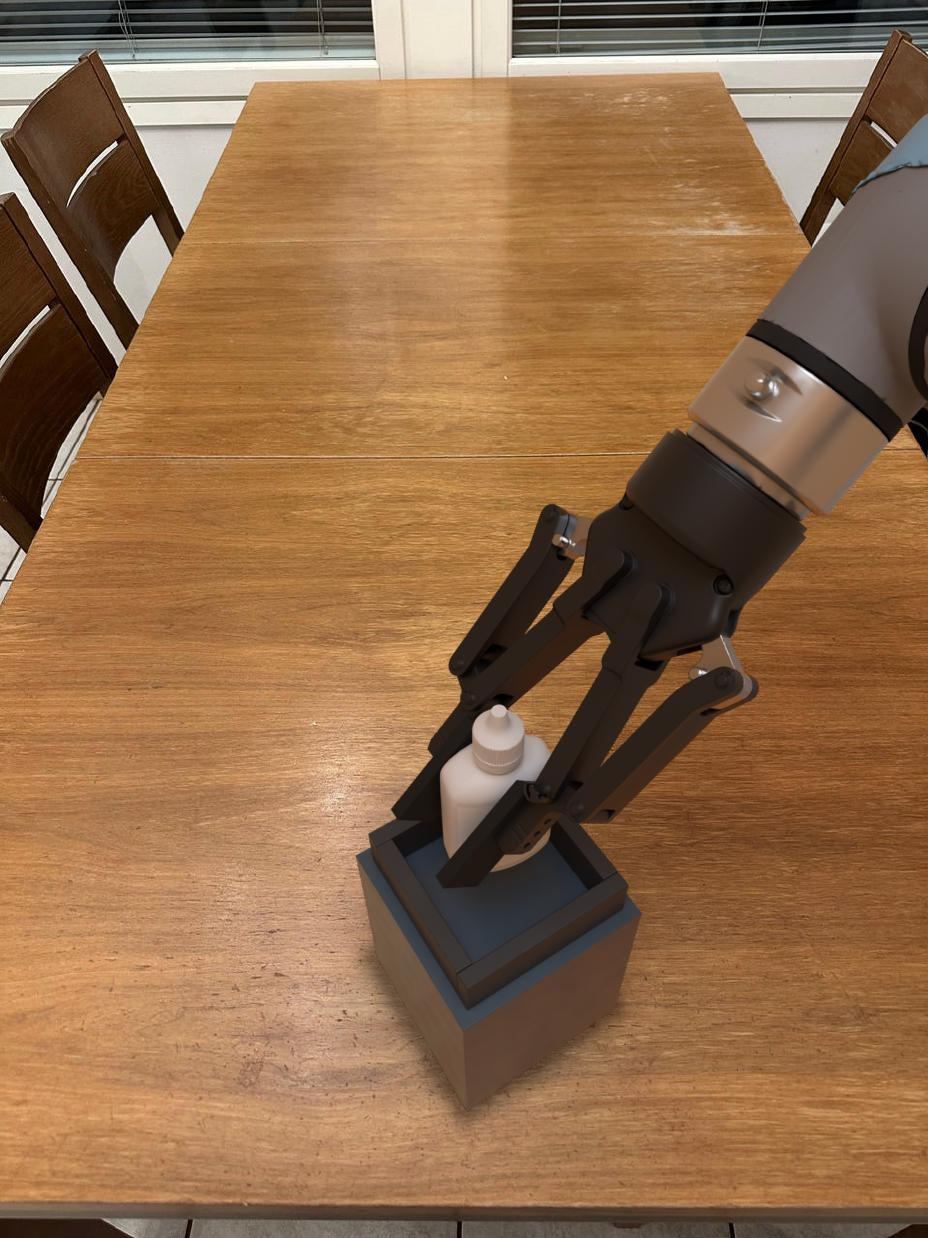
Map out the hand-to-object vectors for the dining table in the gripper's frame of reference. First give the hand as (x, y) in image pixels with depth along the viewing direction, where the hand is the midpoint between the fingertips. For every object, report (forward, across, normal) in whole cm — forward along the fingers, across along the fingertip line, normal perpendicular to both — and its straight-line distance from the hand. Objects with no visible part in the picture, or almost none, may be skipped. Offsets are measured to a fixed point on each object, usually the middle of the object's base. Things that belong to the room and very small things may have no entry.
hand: (434, 846), depth 47 cm
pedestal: (+14, 0, +19) cm, 23 cm away
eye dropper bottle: (0, 0, +5) cm, 5 cm away
